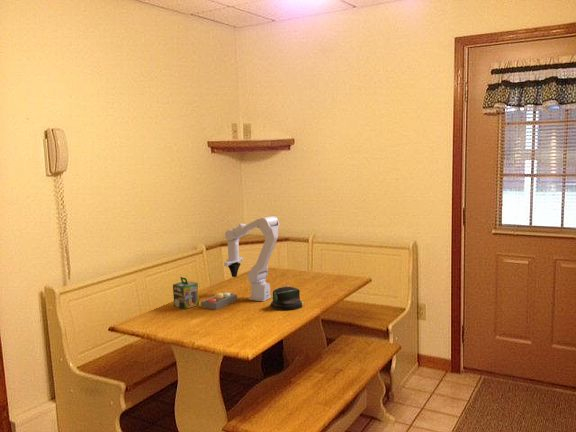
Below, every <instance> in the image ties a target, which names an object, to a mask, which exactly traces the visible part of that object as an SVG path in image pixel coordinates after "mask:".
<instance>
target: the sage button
mask: <svg viewBox="0 0 576 432" xmlns="http://www.w3.org/2000/svg"><path fill="white" fill-rule="evenodd" d="M230 294H231V292H228V291H227V292H226V291H225V292H223V296H226V297H228V296H230Z"/></svg>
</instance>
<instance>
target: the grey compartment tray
mask: <svg viewBox="0 0 576 432" xmlns="http://www.w3.org/2000/svg"><path fill="white" fill-rule="evenodd" d="M221 293H224V292H223V291H222V292H221ZM211 298H214V299H215V295H214V296H213V295H212V296H211V297H208V298H206V299H205V300H204V299H203V300H202V301H200V306H201V308H202V309H208V310H214V311H217V310H220V309H221V308H223V307H225V306H227V305H230V304H232V303H234V302H237V301H238V294H236V293H230V296H228V297H226V296H223V299H221V300H218V299H216V302H215V303H209V302H208V299H211Z"/></svg>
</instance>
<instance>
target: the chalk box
mask: <svg viewBox="0 0 576 432" xmlns="http://www.w3.org/2000/svg"><path fill="white" fill-rule="evenodd" d="M179 278H180V281H181V282H176V283H174V284H172V291H173V295H172V296H173V304H174V305H173V307H175V308H179V309H182V310H187V309H191V308H193V307H194V308H195V307H197V306H200V299H199V286H198V285H199V284H198V282H194V281H189V280H188V279H187V278H186V277H182V276H180V277H179Z"/></svg>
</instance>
